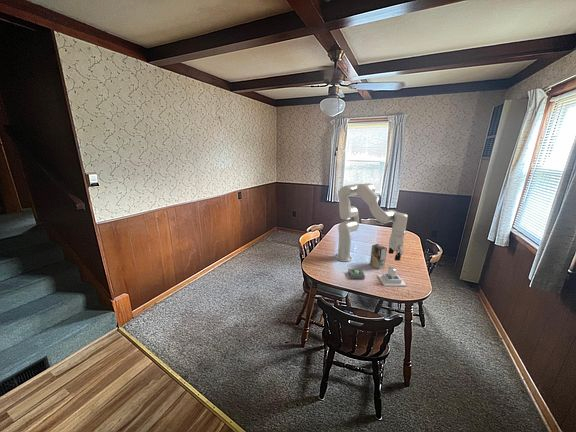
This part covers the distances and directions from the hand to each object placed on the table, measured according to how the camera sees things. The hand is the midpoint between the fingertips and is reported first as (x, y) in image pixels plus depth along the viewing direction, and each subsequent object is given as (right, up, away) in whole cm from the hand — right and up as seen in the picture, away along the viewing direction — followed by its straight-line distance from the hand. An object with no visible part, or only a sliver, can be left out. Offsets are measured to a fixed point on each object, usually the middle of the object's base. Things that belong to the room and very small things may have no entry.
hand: (393, 256), depth 148 cm
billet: (0, -16, +4) cm, 17 cm away
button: (-22, -15, +11) cm, 28 cm away
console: (-22, -15, +11) cm, 29 cm away
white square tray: (0, -17, +4) cm, 18 cm away
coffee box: (-1, -12, +25) cm, 27 cm away
